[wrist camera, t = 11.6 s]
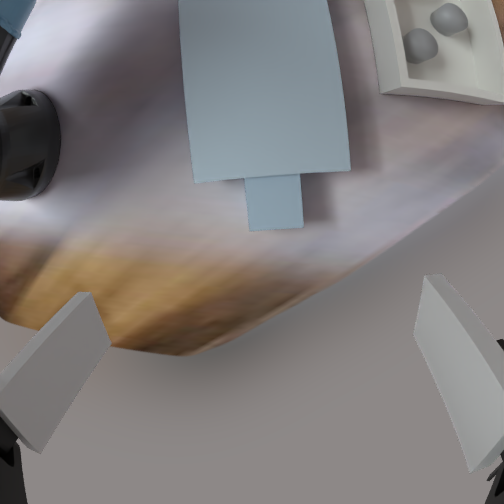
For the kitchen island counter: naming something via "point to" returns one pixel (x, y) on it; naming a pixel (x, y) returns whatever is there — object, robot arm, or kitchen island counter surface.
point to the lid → (263, 99)
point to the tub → (438, 49)
